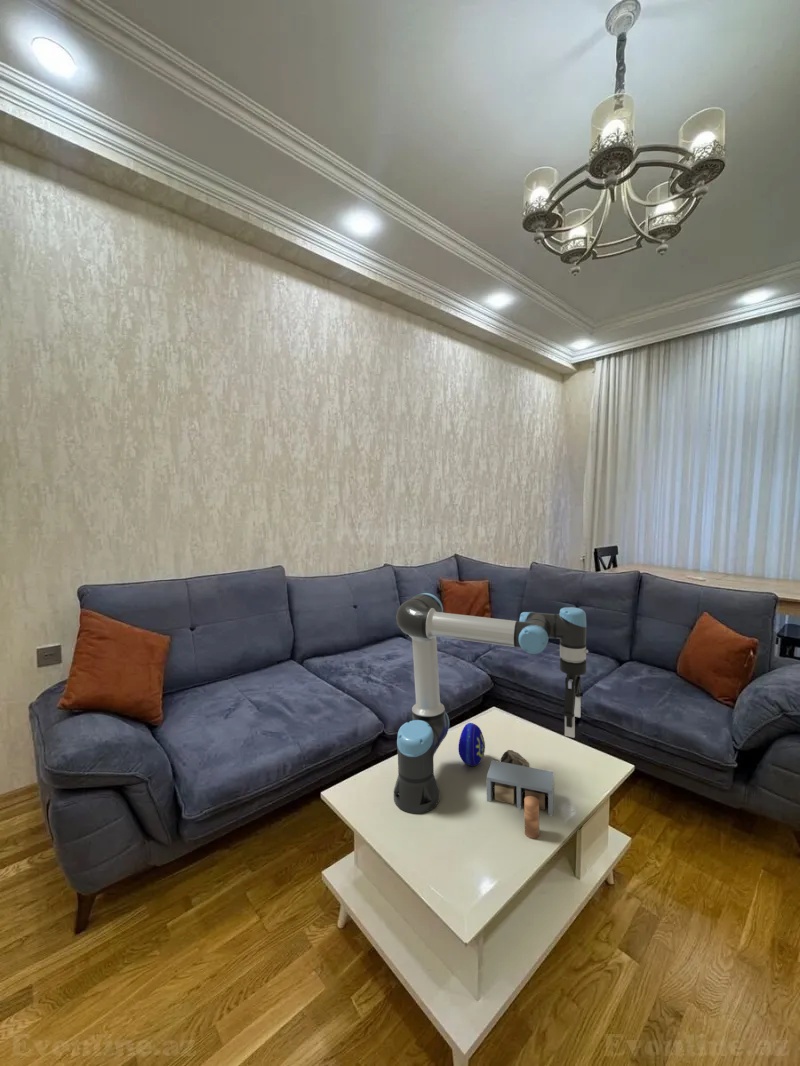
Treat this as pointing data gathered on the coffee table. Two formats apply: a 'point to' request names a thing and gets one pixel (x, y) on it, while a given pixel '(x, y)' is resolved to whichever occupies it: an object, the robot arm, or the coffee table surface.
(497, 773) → the cubby shelf
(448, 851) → the coffee table surface
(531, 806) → the tethered block
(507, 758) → the stone
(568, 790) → the coffee table surface
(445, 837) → the coffee table surface
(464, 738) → the ornament
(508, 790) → the oak block
